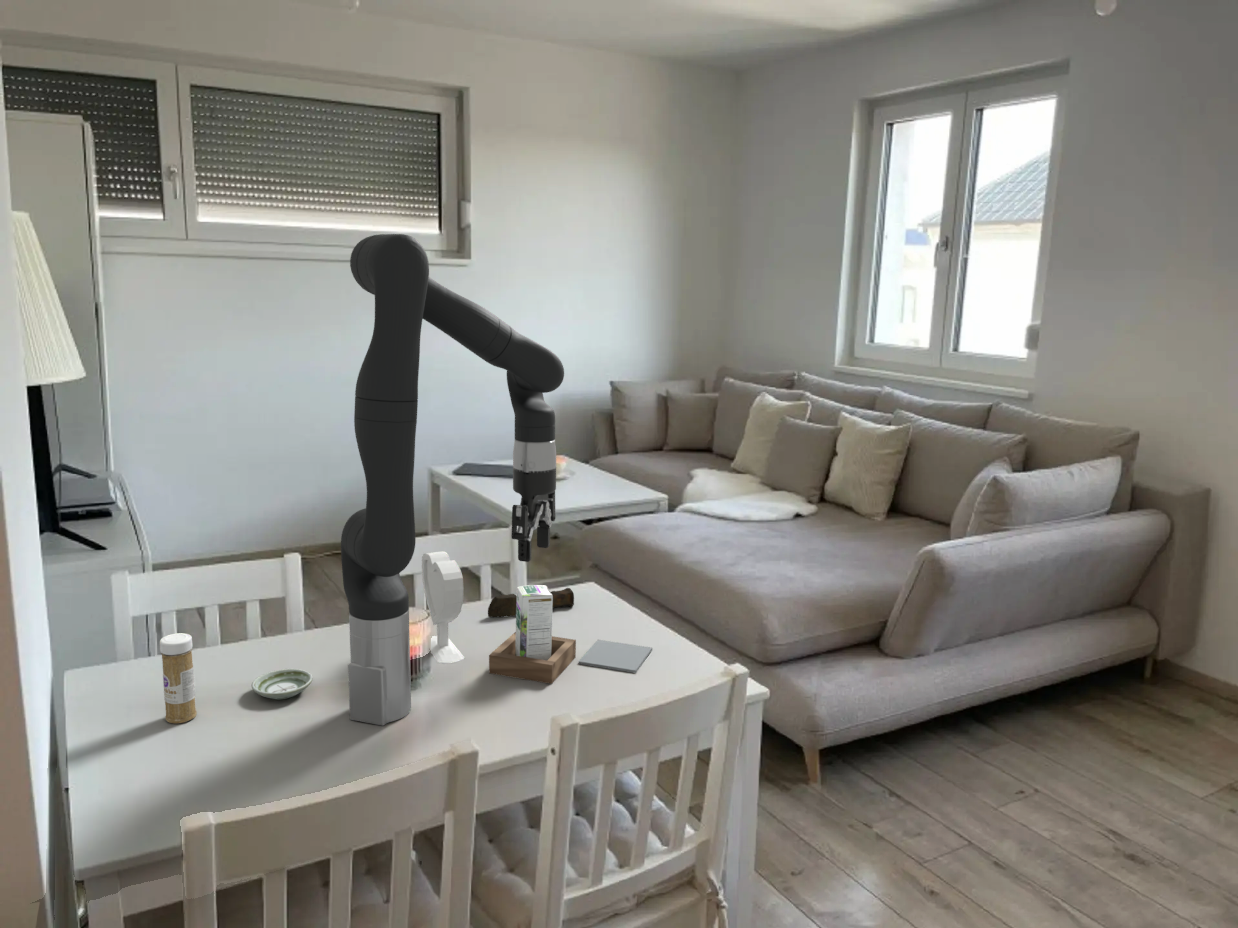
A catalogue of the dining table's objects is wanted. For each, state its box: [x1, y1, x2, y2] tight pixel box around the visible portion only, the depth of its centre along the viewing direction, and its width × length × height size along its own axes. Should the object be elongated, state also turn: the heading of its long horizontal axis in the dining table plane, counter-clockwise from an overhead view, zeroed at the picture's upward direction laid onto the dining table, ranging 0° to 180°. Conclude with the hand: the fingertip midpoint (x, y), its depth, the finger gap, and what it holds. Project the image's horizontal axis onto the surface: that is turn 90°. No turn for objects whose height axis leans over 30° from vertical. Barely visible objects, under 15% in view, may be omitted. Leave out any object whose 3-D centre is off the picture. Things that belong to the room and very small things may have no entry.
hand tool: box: [487, 587, 575, 618], centre depth 195 cm, size 19×4×5 cm, turn 115°
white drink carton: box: [515, 584, 553, 660], centre depth 167 cm, size 6×6×14 cm
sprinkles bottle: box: [159, 632, 198, 724], centre depth 144 cm, size 5×5×13 cm
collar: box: [488, 631, 577, 685], centre depth 168 cm, size 12×12×4 cm
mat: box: [578, 639, 653, 674], centre depth 173 cm, size 11×11×1 cm
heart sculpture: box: [421, 551, 465, 664], centre depth 172 cm, size 16×5×18 cm, turn 27°
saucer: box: [251, 668, 314, 700], centre depth 155 cm, size 10×10×2 cm
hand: (534, 553), depth 164 cm, fingers open, 8 cm apart
